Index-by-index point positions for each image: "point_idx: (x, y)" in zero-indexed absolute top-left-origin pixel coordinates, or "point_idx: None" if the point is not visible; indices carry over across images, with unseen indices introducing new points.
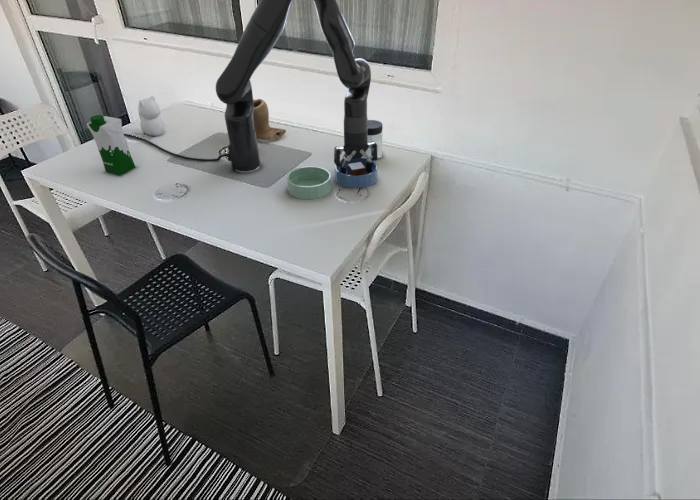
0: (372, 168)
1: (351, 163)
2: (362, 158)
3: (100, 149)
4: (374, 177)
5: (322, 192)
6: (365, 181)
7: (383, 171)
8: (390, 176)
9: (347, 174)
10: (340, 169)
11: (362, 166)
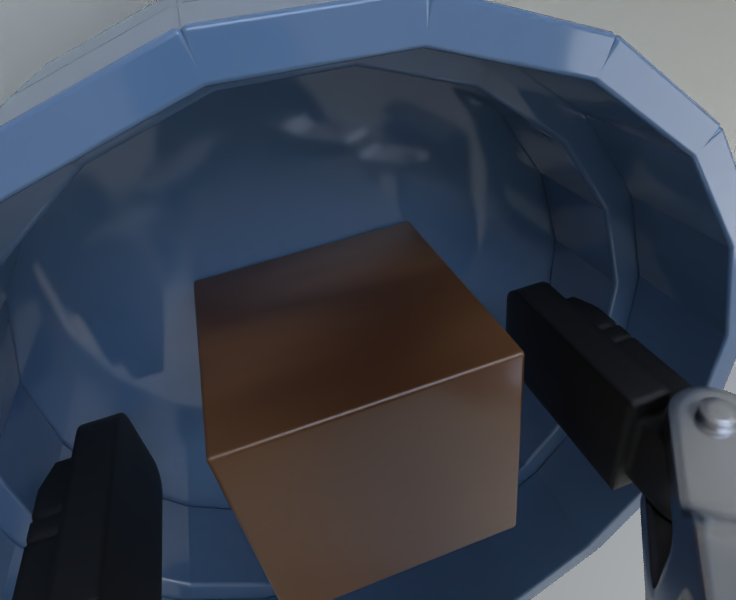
0: (620, 282)
1: (304, 436)
2: (643, 127)
3: None
4: (535, 481)
5: None
6: None
7: (721, 108)
8: None
9: (183, 220)
10: (32, 584)
11: (489, 502)
